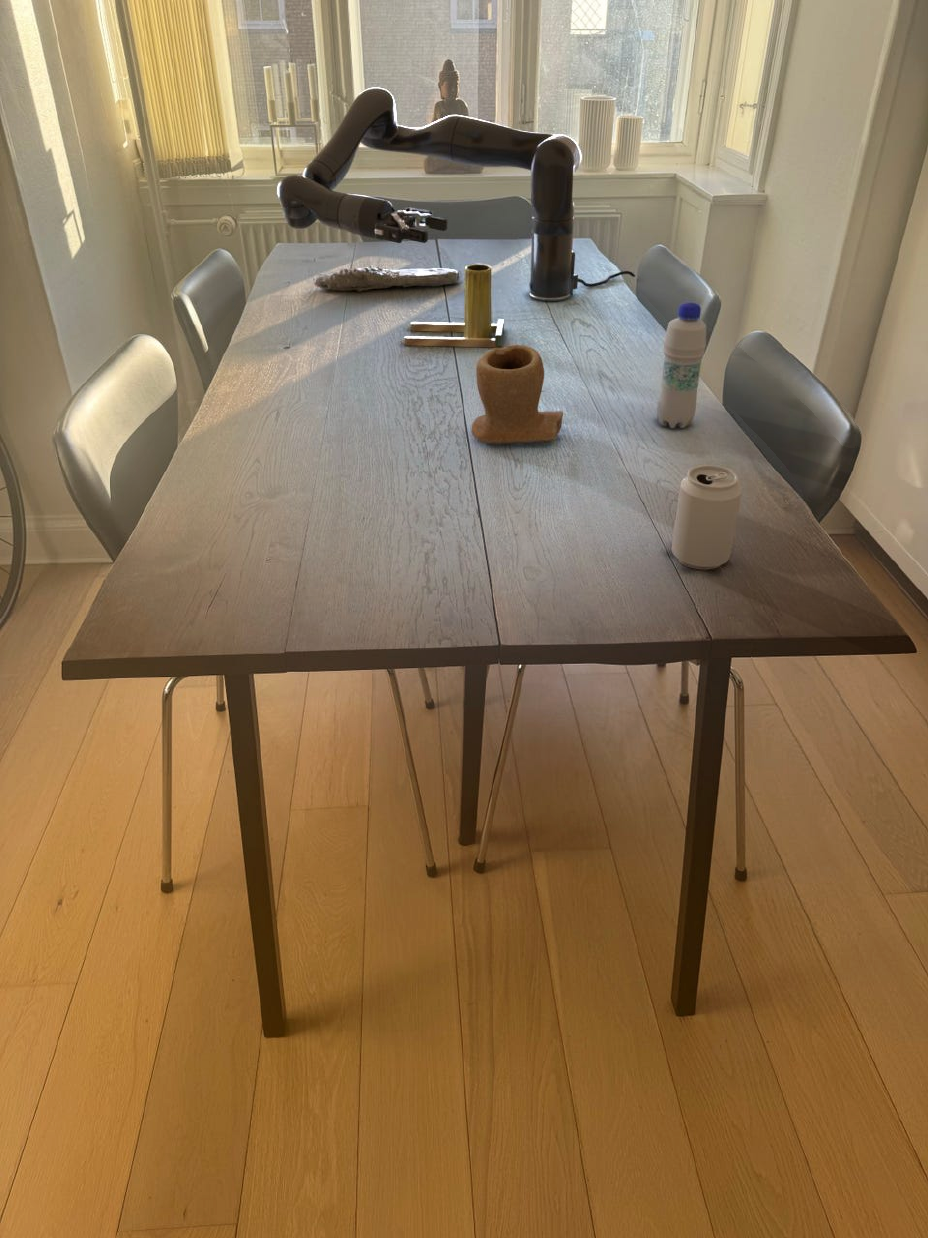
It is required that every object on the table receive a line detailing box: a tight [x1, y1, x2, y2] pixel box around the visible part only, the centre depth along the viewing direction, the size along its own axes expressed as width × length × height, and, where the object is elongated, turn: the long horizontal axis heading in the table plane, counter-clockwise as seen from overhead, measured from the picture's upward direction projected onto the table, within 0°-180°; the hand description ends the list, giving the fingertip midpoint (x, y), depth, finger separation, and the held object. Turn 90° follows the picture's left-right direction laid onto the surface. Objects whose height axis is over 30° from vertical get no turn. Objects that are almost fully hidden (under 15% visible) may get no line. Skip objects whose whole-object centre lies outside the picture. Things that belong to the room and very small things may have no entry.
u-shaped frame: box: [403, 318, 505, 349], centre depth 195 cm, size 20×10×2 cm, turn 85°
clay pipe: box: [470, 344, 564, 445], centre depth 150 cm, size 15×12×15 cm
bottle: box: [656, 301, 707, 429], centre depth 154 cm, size 7×7×20 cm
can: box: [670, 464, 743, 571], centre depth 120 cm, size 8×8×12 cm
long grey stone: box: [313, 265, 461, 292], centre depth 226 cm, size 35×5×10 cm
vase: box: [462, 263, 494, 338], centre depth 191 cm, size 6×6×14 cm
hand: (437, 231), depth 188 cm, fingers open, 8 cm apart
